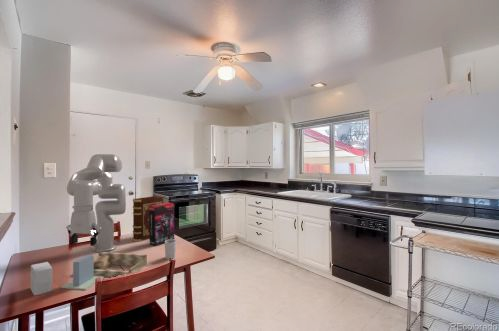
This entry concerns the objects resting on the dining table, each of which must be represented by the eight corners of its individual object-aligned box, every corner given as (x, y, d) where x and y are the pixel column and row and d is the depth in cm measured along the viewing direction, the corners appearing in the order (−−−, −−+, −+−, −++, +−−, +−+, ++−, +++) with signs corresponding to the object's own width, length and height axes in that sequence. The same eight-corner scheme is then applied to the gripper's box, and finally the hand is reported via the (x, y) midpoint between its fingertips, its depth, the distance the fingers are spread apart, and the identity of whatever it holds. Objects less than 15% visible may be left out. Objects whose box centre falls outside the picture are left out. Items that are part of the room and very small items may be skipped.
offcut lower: (88, 273, 132) (88, 267, 132) (100, 265, 141) (99, 260, 141) (101, 273, 132) (101, 267, 132) (111, 266, 141) (111, 261, 141)
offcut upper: (90, 267, 132) (90, 261, 132) (96, 261, 140) (96, 256, 140) (103, 266, 133) (103, 261, 133) (108, 260, 141) (108, 255, 141)
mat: (61, 288, 115) (61, 286, 115) (81, 276, 127) (81, 275, 127) (85, 289, 114) (85, 288, 114) (104, 277, 126) (104, 276, 126)
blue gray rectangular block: (73, 285, 116) (73, 261, 116) (87, 276, 125) (87, 254, 125) (79, 286, 116) (79, 262, 116) (93, 277, 125) (93, 255, 125)
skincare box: (52, 290, 113) (52, 267, 113) (34, 296, 108) (33, 271, 108) (48, 283, 120) (47, 260, 120) (30, 288, 115) (30, 265, 115)
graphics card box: (154, 246, 172) (154, 206, 172) (148, 244, 176) (148, 205, 175) (174, 240, 186) (174, 203, 186) (168, 238, 190) (168, 202, 190)
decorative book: (137, 242, 181) (137, 200, 181) (130, 240, 186) (130, 199, 185) (163, 234, 200) (163, 196, 200) (156, 233, 205) (156, 195, 204)
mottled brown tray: (79, 274, 130) (79, 262, 130) (100, 262, 145) (100, 252, 144) (131, 277, 126) (131, 265, 126) (146, 265, 141) (146, 254, 141)
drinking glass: (166, 260, 149) (166, 243, 148) (163, 256, 154) (163, 240, 154) (177, 257, 153) (177, 241, 152) (173, 254, 158) (174, 238, 158)
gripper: (60, 209, 117) (60, 246, 118) (94, 211, 115) (95, 248, 116) (73, 206, 125) (73, 240, 126) (106, 207, 123) (106, 242, 124)
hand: (83, 244), depth 121 cm, fingers open, 9 cm apart
